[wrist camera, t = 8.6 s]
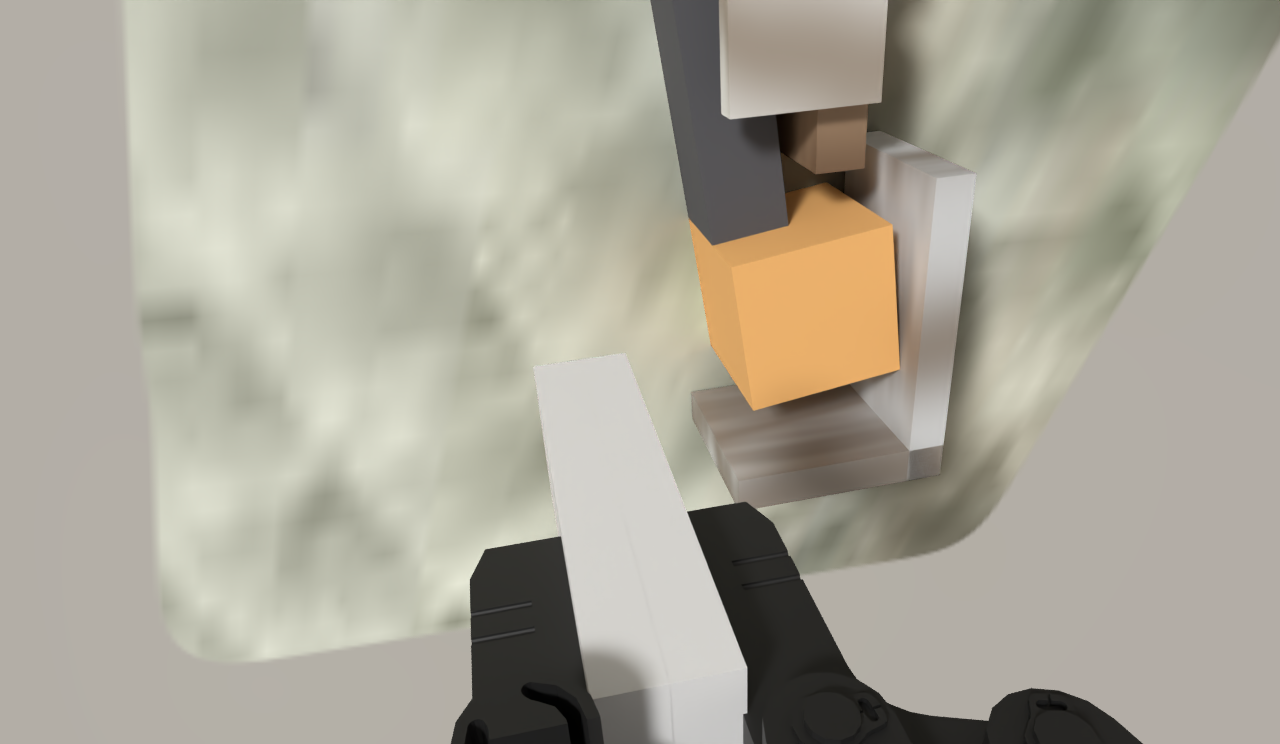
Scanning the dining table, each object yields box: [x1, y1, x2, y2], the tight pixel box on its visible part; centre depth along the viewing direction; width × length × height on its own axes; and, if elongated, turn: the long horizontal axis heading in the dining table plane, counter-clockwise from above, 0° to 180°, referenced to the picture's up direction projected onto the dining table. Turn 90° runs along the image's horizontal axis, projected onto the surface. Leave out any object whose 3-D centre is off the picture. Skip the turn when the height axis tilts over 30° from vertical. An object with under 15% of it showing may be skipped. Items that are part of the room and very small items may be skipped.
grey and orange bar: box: [651, 0, 900, 411], centre depth 24 cm, size 19×5×5 cm, turn 12°
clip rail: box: [691, 0, 977, 508], centre depth 25 cm, size 22×7×6 cm, turn 5°
